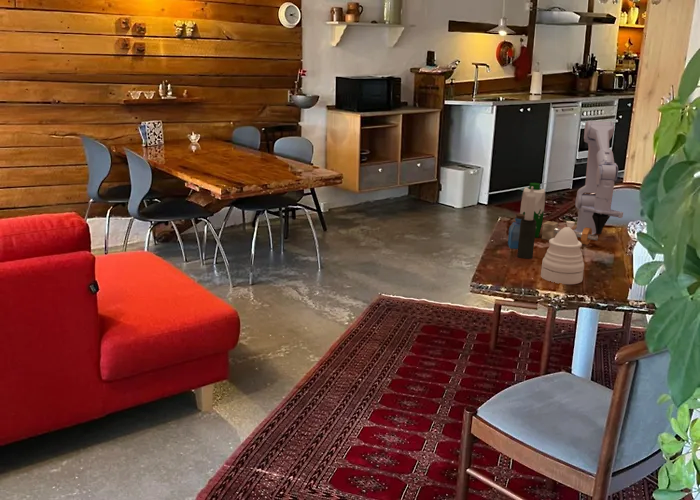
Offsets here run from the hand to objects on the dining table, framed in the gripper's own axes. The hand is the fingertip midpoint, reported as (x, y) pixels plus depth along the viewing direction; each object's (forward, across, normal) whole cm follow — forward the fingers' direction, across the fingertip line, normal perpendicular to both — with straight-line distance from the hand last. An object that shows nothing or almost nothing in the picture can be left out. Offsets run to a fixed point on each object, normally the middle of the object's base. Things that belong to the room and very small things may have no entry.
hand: (598, 233), depth 248 cm
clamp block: (+5, -18, 0) cm, 19 cm away
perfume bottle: (+6, -23, -19) cm, 31 cm away
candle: (+5, -16, -29) cm, 34 cm away
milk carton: (+5, -26, 0) cm, 27 cm away
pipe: (+3, -10, 0) cm, 11 cm away
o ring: (+5, -4, 0) cm, 7 cm away
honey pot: (+5, +2, -43) cm, 43 cm away
